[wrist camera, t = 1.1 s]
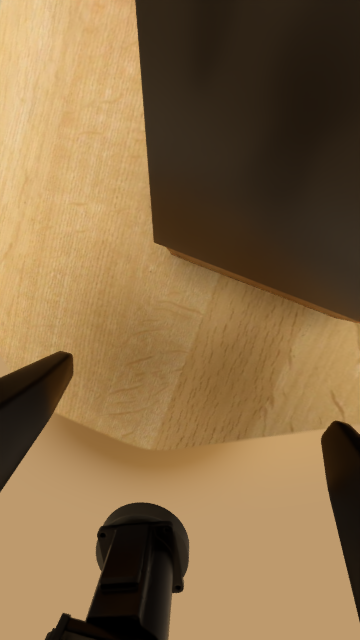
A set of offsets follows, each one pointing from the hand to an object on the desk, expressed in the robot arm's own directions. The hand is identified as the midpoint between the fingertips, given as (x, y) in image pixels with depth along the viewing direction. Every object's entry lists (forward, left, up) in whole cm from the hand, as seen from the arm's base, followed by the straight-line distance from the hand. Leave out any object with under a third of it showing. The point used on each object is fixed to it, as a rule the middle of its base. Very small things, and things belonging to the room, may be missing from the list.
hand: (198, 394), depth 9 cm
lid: (+5, -6, +2) cm, 8 cm away
